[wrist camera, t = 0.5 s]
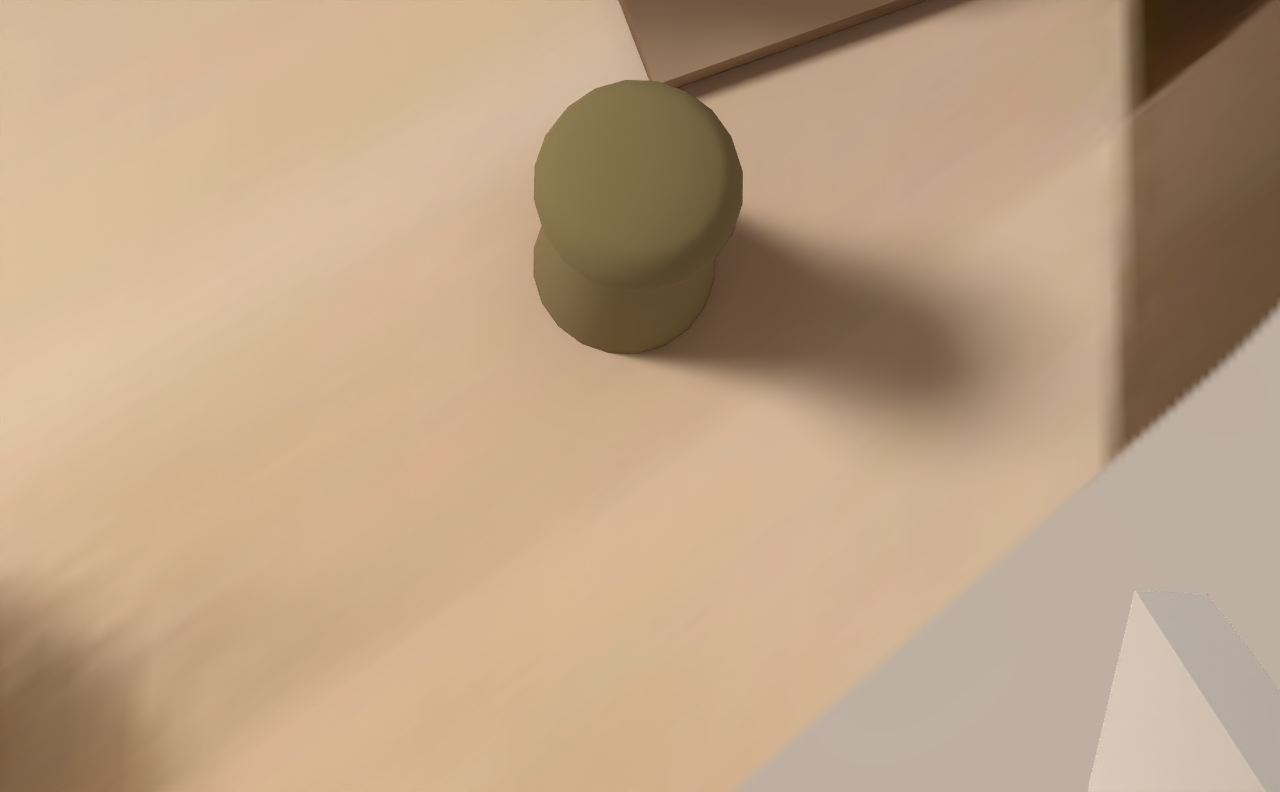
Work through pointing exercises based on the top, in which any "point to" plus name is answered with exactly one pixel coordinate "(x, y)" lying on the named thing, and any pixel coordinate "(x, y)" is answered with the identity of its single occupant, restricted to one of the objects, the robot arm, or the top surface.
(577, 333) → the cork
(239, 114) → the top surface
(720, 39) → the collar
